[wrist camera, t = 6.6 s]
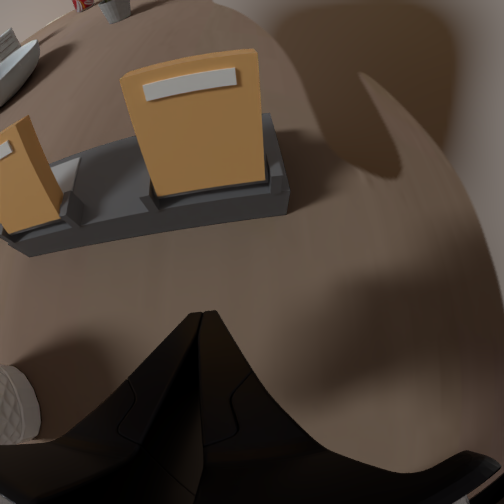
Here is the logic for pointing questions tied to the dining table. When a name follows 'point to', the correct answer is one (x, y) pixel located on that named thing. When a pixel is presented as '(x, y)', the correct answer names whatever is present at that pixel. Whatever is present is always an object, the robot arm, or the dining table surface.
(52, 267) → the dining table surface
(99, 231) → the power strip
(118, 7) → the house plant
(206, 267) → the dining table surface
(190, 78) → the orange flat block
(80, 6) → the soda can
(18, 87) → the serving bowl
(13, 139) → the tan flat block
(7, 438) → the white cup
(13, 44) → the supplement box
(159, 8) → the dining table surface
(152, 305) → the dining table surface
